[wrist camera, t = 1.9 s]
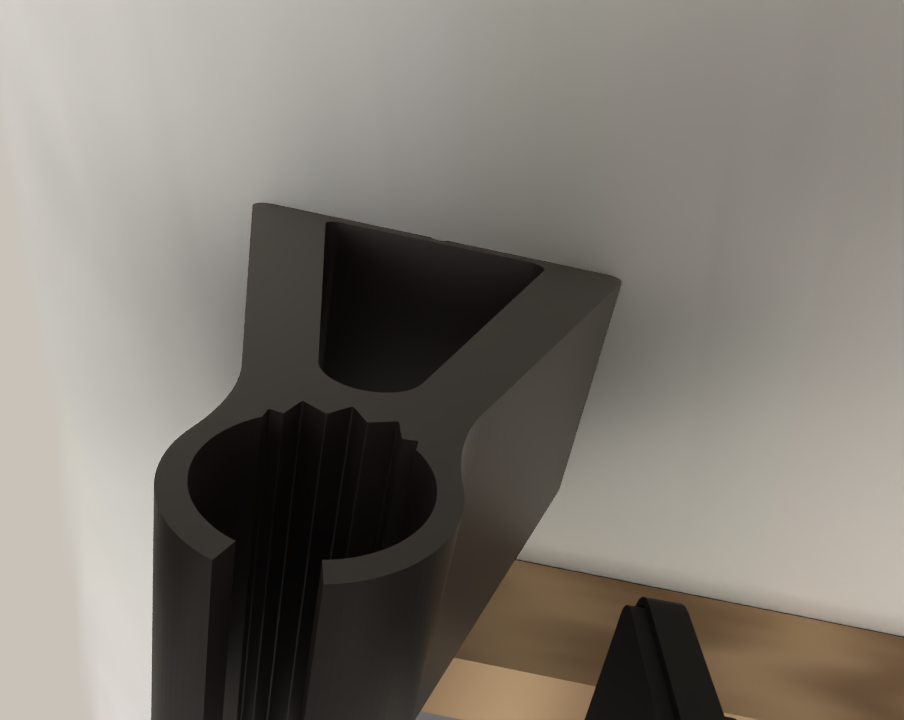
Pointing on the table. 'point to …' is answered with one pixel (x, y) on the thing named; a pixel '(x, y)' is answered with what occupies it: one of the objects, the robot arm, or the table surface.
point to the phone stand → (363, 469)
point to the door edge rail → (720, 637)
